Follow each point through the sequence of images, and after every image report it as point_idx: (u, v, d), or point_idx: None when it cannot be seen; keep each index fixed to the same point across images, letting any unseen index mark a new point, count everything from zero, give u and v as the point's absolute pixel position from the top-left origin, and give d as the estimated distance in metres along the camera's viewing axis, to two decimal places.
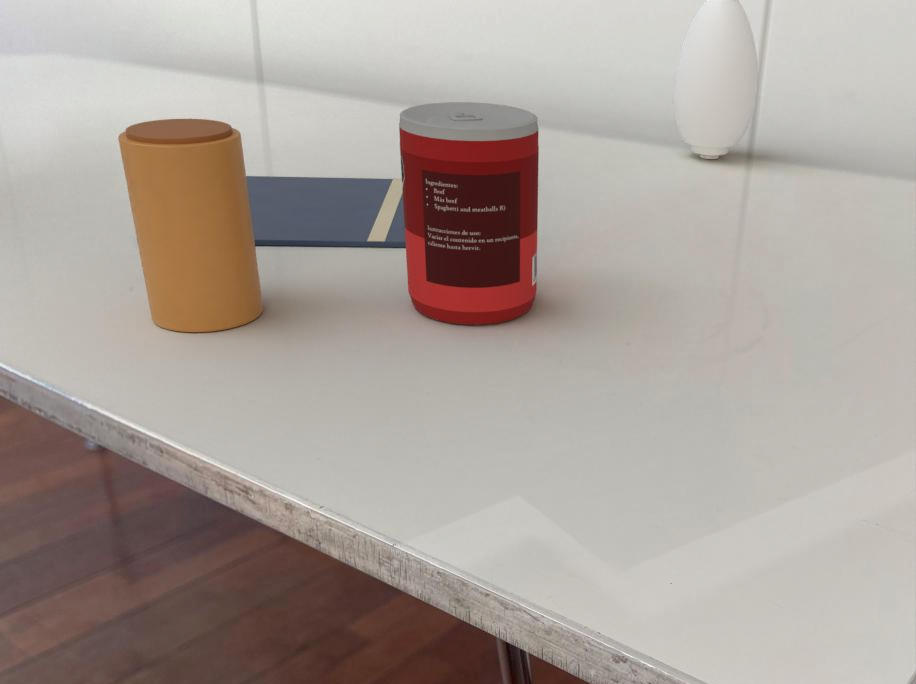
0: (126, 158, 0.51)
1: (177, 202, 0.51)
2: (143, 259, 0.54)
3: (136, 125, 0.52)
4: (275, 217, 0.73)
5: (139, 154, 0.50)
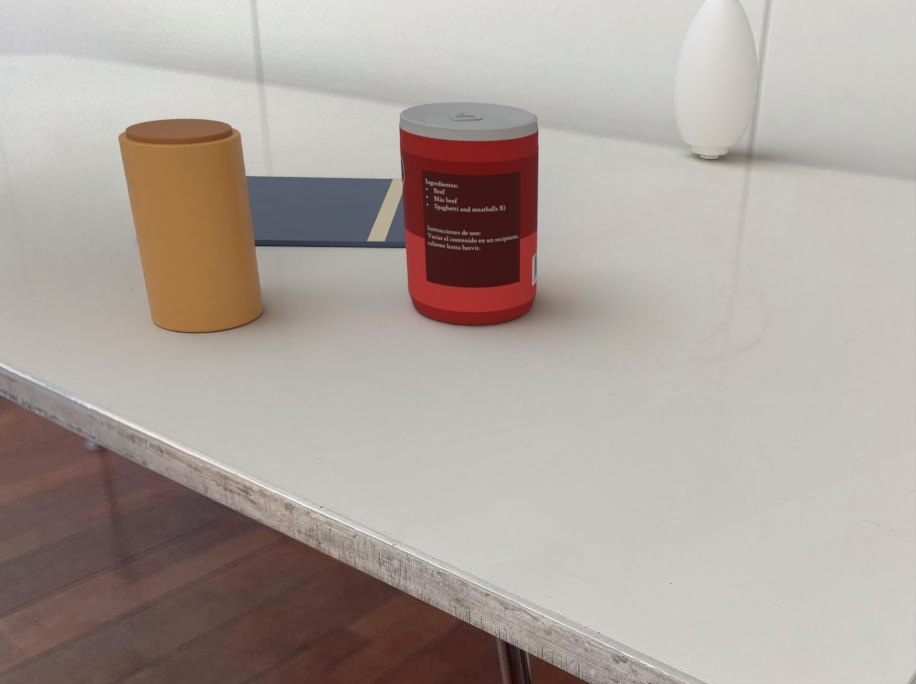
0: (126, 158, 0.51)
1: (177, 202, 0.51)
2: (143, 259, 0.54)
3: (136, 125, 0.52)
4: (275, 217, 0.73)
5: (139, 154, 0.50)
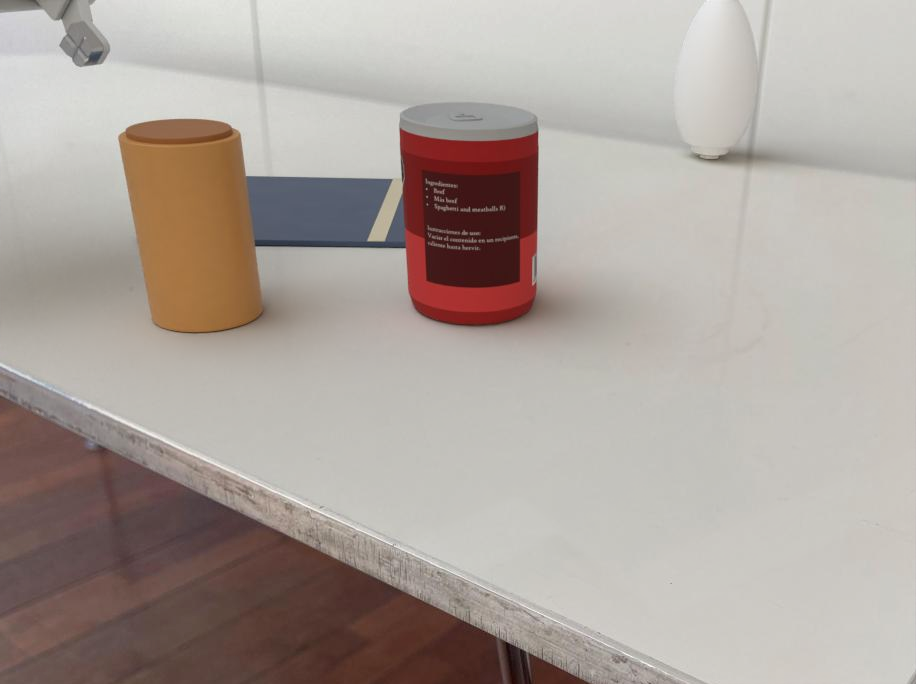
0: (126, 158, 0.51)
1: (177, 202, 0.51)
2: (143, 259, 0.54)
3: (136, 125, 0.52)
4: (275, 217, 0.73)
5: (139, 154, 0.50)
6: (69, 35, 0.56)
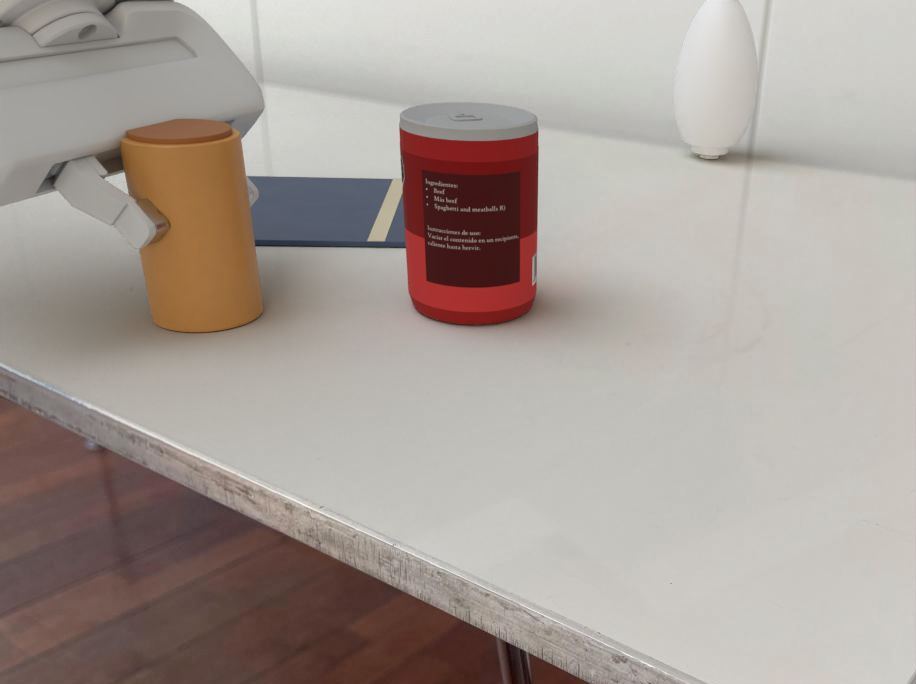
0: (126, 159, 0.51)
1: (178, 202, 0.51)
2: (143, 259, 0.54)
3: None
4: (275, 217, 0.73)
5: (139, 154, 0.50)
6: None
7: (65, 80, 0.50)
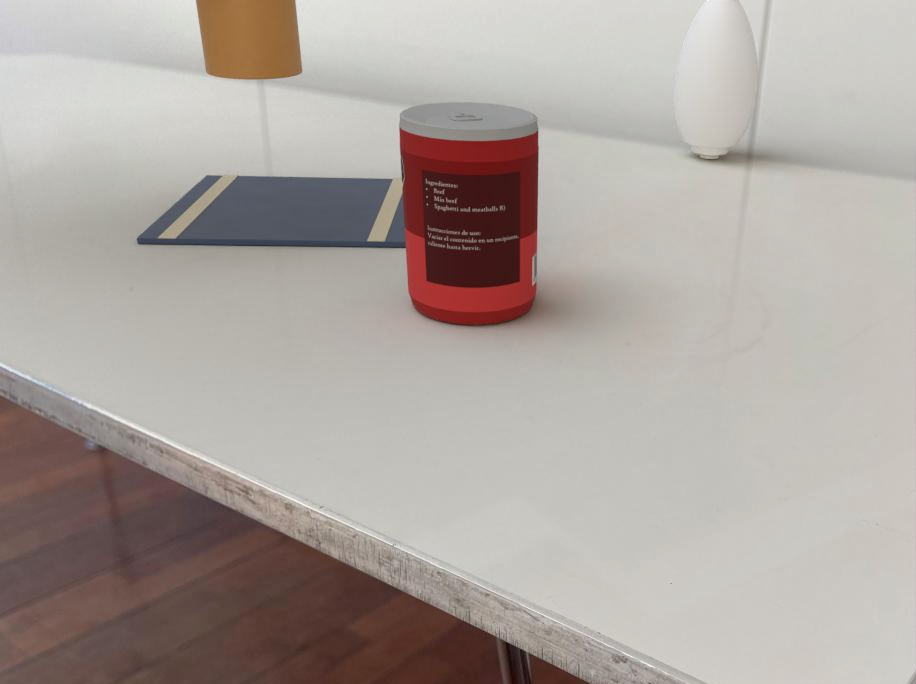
0: None
1: None
2: (201, 11, 0.62)
3: None
4: (275, 217, 0.73)
5: None
6: None
7: None
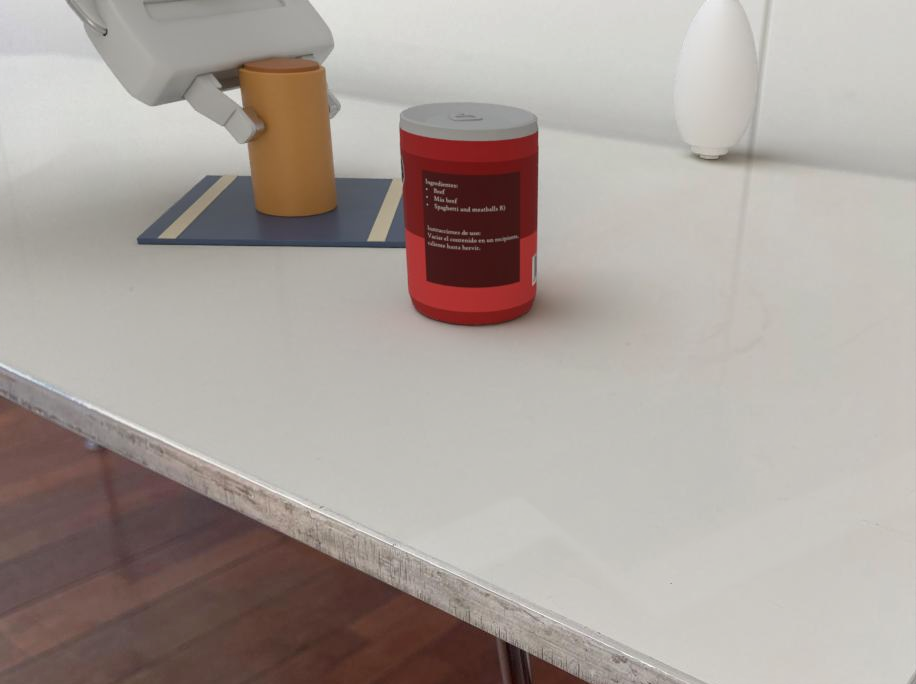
0: (245, 84, 0.70)
1: (282, 116, 0.70)
2: (253, 161, 0.72)
3: None
4: (275, 217, 0.73)
5: (255, 80, 0.69)
6: None
7: (200, 17, 0.69)
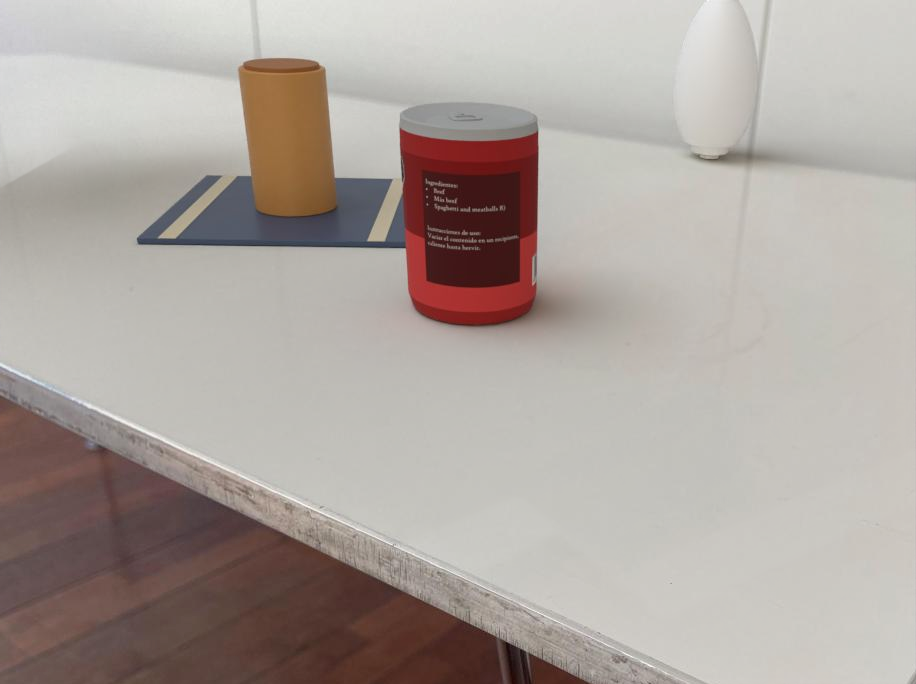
0: (245, 84, 0.70)
1: (282, 116, 0.70)
2: (253, 161, 0.72)
3: (249, 61, 0.71)
4: (275, 217, 0.73)
5: (255, 80, 0.69)
6: None
7: None
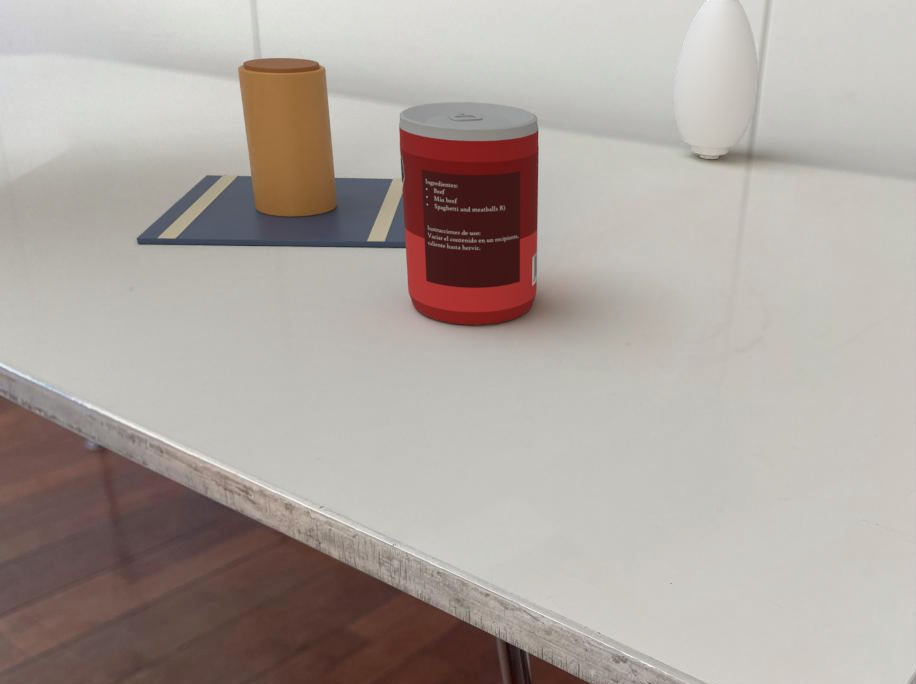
0: (245, 84, 0.70)
1: (282, 116, 0.70)
2: (253, 161, 0.72)
3: (249, 61, 0.71)
4: (275, 217, 0.73)
5: (255, 80, 0.69)
6: None
7: None
